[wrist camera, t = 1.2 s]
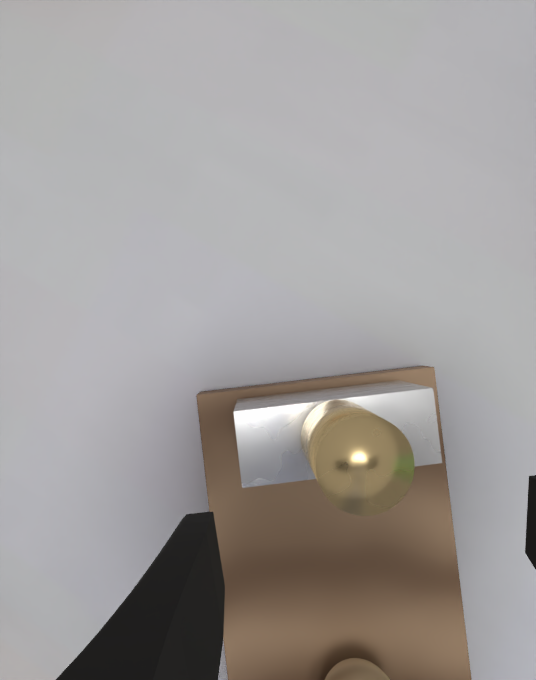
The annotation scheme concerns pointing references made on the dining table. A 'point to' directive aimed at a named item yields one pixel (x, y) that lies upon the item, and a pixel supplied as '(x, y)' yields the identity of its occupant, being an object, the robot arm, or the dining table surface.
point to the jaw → (341, 441)
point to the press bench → (332, 564)
